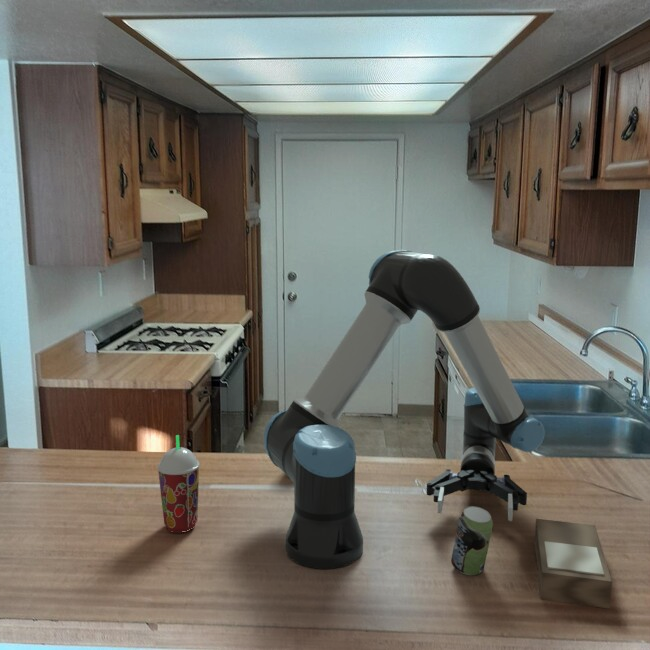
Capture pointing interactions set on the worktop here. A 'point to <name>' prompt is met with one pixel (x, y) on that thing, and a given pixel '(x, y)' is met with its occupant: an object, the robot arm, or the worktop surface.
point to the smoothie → (179, 488)
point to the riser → (571, 564)
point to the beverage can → (472, 540)
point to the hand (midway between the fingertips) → (474, 510)
